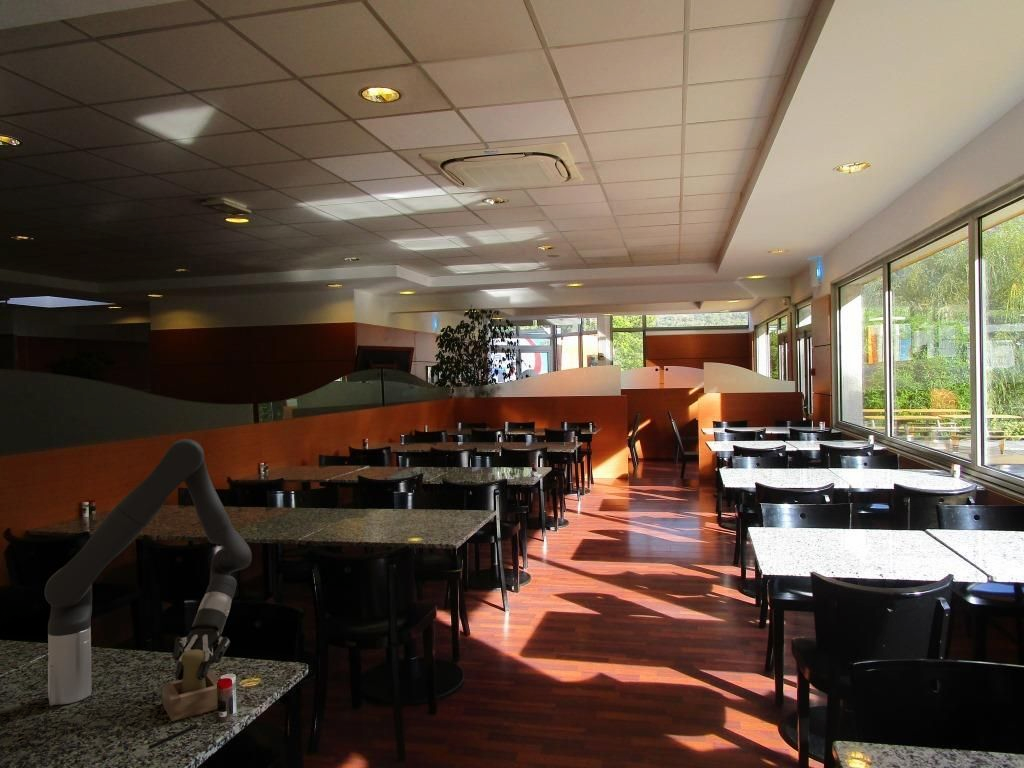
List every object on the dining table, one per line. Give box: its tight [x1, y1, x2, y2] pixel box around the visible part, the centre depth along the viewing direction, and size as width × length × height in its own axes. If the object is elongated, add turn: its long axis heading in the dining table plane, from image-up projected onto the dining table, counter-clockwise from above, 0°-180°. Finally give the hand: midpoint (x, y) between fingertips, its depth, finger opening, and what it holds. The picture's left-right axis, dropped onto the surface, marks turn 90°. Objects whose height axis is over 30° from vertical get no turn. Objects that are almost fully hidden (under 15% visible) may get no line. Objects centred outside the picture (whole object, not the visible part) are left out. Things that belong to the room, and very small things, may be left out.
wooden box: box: [161, 671, 220, 722], centre depth 171 cm, size 12×12×5 cm
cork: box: [181, 649, 206, 694], centre depth 171 cm, size 6×6×11 cm
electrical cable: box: [148, 722, 202, 750], centre depth 155 cm, size 12×1×1 cm, turn 148°
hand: (189, 678), depth 169 cm, fingers closed on cork, 5 cm apart
